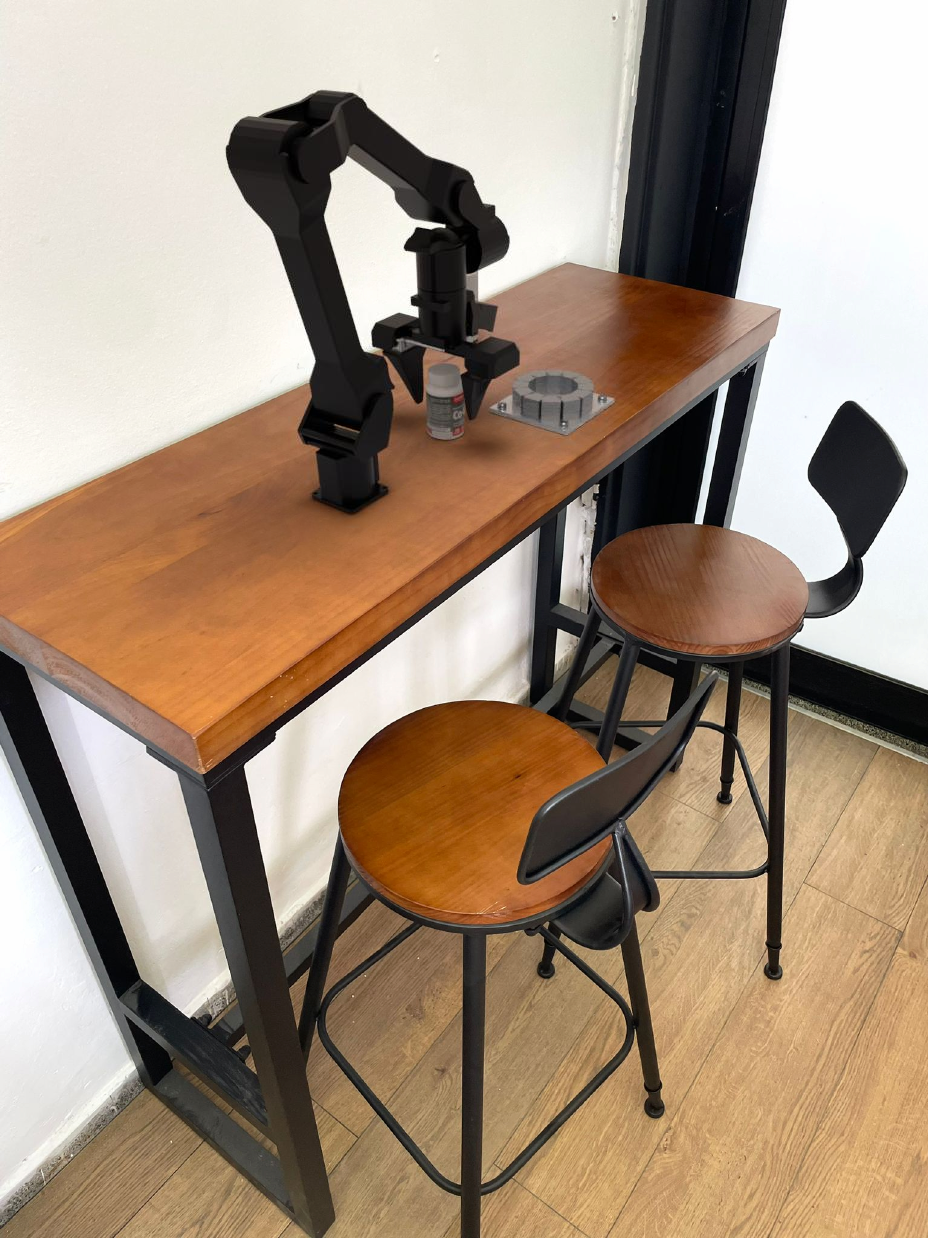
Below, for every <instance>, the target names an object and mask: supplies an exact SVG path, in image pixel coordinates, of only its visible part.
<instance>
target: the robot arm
mask: <svg viewBox="0 0 928 1238" xmlns="http://www.w3.org/2000/svg"><path fill="white" fill-rule="evenodd" d="M229 134H230V135H229V141H228V143H227V144H226V145H225V157H226V159H225V160H226V162H227V167H228V170H229V172H230V175H231V176H232V178H233V180H234V182H235V184H236V185H237V188H238V190H239V191H240V194H241V195H242V197H243V199H244V201H245V202H246V204H247V205H248V206H249V207H250V208H251V209H252V210H253V211H254V212H255V214H256V215H257V216H258V217H259V218H260V219H261V220H262V221H263V222H264V224H265V225H266V226H267V227H268V228H269V229H270V231H271V233H272V235H273V238H274V241H275V245H276V247H277V250H278V253H279V256H280V260H281V262H282V264H283V267H284V271H285V273H286V276H287V279H288V283H289V285H290V289H291V292H292V294H293V297H294V301H295V304H296V306H297V307H296V308H297V310H298V312H299V315H300V319H301V320H302V321H301V322H302V325H303V327H304V330H305V333H306V336H307V339H308V342H309V345H310V347H311V350H312V354H313V357H314V365H313V366H312V367H313V368H312V372H311V374H310V377H309V381H308V382H309V383H308V384H309V388H310V389H309V390H310V393H311V397H310V400H309V402H308V405H307V407H306V409H305V411H304V414H303V416H302V418H301V420H300V423H299V424H298V427H297V434H298V436H299V438H300V440H301V442H302V444H303V445H307V446H311V447H314V448H318V450H316V451H315V457H316V458H315V460H316V467H317V474H318V475H317V476H318V482H319V488H317V489H316V490H314V491H312V492H311V493H310V495H311V498H312V499H314V500H317V501H318V502H322V503H323V504H326V505H328V506H331V507H333V508H336V509H338V510H341V511H343V512H346V513H348V514H355V513H358V511H360V510H361V509H364V508H365V507H366V506H368V505H370V504H371V503H373V502H374V501H376V500H378V499H379V498H381V497H383V496H384V495H386V494H388V492H390V489H389V486H388V485H385V484H382V483H380V482H379V481H380V479H381V478H380V469H379V467H380V466H379V454H380V452H383V451H384V450H385V449H387V448H388V447H389V441H390V436H391V435H390V434H391V429H392V423H393V416H394V409H395V407H394V406H395V405H394V403H395V401H394V394H393V392H392V391H393V390H395V389H396V386H395V385H394V383H393V382H392V380H391V377H390V372H389V365H388V361H387V360H386V358H387V359H388V360H389V362H390V364H391V365H392V367H393V368H394V369H395V371H396V372H397V374H398V376H399V377H400V379H401V380H402V382H403V384H404V385H405V387H406V389H407V391H408V393H409V394H410V396H411V398H412V399H413V401H414V403H415V404H416V405H419V404H421V403H423V402H424V392H425V390H424V389H425V387H424V386H425V385H424V356H425V354H426V352H427V349H428V350H434V351H436V352H440V353H443V354H447V355H450V356H451V355H452V356H455V357H459V358H462V359H463V361H464V363H463V364H464V368H465V370H466V371H465V372H463V373H461V375H460V376H461V381H460V382H461V383H462V388H463V395H464V408H465V412H466V417H467V419H468V421H469V422H472V421H474V420H476V418H477V416H478V414H479V412H480V409H481V406H482V402H483V401H484V397H485V395H486V394H487V390H488V388H489V386H490V383H491V382H492V380H496V379H497V378H500V377H501V376H503V375H505V374H507V373H508V372H509V371H511V370H513V369H515V368H517V367H520V364H521V363H520V360H521V352H520V347H519V346H518V345H517V343H515V342H514V341H511V340H509V339H508V340H507V339H502V338H499V337H495V336H489V337H487V338H484V339H483V340H482V341H479V342H477V343H475V342H473V343H472V342H468V341H467V337H469V336H471V337H473V336H475V335H477V334H478V329H479V330H484V331H487V332H490V333H494V329H495V325H496V319H497V314H498V308H499V306H498V305H495V304H490V303H487V302H483V301H479V300H478V301H475V295H474V293H473V291H471V290H467V278H466V274H472V273H474V272H477V271H478V272H479V271H481V270H483V269H484V268H487V267H489V266H490V265H493V264H495V263H498V262H499V261H501V260H502V259H503V258H505V257H506V255H507V253H508V251H509V248H510V244H511V242H510V241H511V239H510V238H511V237H510V235H509V233H508V229H507V227H506V225H505V223H504V222H503V220H502V219H501V218H499V216H497V215H496V205H495V204H490V203H484V202H483V200H482V199H481V196H480V194H479V192H478V189H477V187H476V185H475V179H474V176H473V175H472V174H471V172H470V171H469V170H468V169H466V168H464V167H461V166H459V165H457V164H454V163H452V162H448V161H445V160H442V159H439V158H436V157H432V156H430V155H428V154H425V153H424V152H423V151H422V150H421V149H420V148H418V147H417V146H415V144H413V143H412V142H411V141H410V140H408V138H406V137H405V136H403V134H402V133H400V132H399V131H398V130H396V129H395V128H393V127H392V126H391V125H390V124H389V122H386V121H385V120H384V119H383V118H382V117H380V116H379V115H378V114H376V112H374V111H373V110H371V108H369V107H368V105H367V102H366V101H365V100H364V99H363V98H362V97H361V96H359V95H358V94H356V93H355V92H350V91H349V92H347V91H340V90H339V91H338V90H330V89H329V90H327V89H320V90H319V89H318V90H317V91H315V92H313V93H310V94H309V95H307V96H305V97H304V98H302V99H300V100H299V101H296V102H292V103H289V104H288V105H284V106H281V107H277V108H274V109H273V110H269V111H266V112H264V113H262V114H260V115H259V116H254V115H253V116H251V115H247V116H244V117H242V118H240V119H239V120H238V122H236V124H234V126H233V128H232V130H231V132H230V133H229ZM347 157H348V158H350V159H351V160H352V161H354V162H355V163H357V164H358V165H360V166H361V167H362V168H363V169H365V170H366V171H368V173H371V174H372V175H373V176H375V177H376V178H378V179H379V180H380V181H382V182H383V183H384V184H385V185H387V186H389V187H390V189H391V190H393V192H394V200H395V202H396V203H397V205H398V206H399V207H400V209H402V210H403V211H404V212H405V214H406V215H407V216H408V217H409V218H410V219H413V220H415V221H421V222H426V223H434V224H437V225H445V227H442V226H440V227H439V226H437V227H433V228H427V227H426V228H425V227H420V226H416V227H415V228H414V231H413V232H412V234H411V236H409V237H408V238H407V239H406V241H405V242H404V244H403V249H404V251H405V252H409V253H414V254H415V264H416V265H415V266H416V269H415V270H416V285H417V286H416V289H417V290H416V291H417V293H416V294H413V295H411V296H410V297H409V298H410V306H412V307H415V308H417V314H418V316H414V315H410V314H406V313H402V312H397V313H394V314H391V315H390V316H387V317H385V318H382V319H380V320H378V321H376V322H375V323H374V324H373V327H372V328H371V331H370V333H371V334H370V335H371V337H370V338H371V346H372V347H373V348H376V349H380V350H381V353H382V355H380V354H376V353H372V352H368V351H365V350H364V348H363V347H362V345H361V341H360V338H359V335H358V330H357V327H356V324H355V320H354V316H353V314H352V310H351V307H350V304H349V299H348V295H347V293H346V290H345V286H344V285H345V284H344V281H343V278H342V276H341V271H340V268H339V265H338V262H337V261H338V260H337V258H336V254H335V251H334V247H333V244H332V241H331V237H330V234H329V229H328V227H327V224H326V221H325V220H326V219H325V213H326V209H327V206H328V203H329V199H330V196H331V193H332V187H333V186H332V178H331V173H333V172H334V171H335V170H337V169H338V168H340V167H342V166H343V165H344V164H345V163H346V162H347V161H346V160H347ZM385 357H386V358H385Z"/></svg>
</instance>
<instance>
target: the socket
mask: <svg viewBox="0 0 928 1238" xmlns="http://www.w3.org/2000/svg"><path fill="white" fill-rule="evenodd" d="M512 384H513V385H512V394H510V395H509V396H506V397H505V398H503V399H502V400H500V401H498V402H496V403H495V404H493V405H491V406H490V407H489V411H488V412H489V413H491V414H493V415H494V414H495V415H497V416H501V417H505V418H507V419H511V420H515V421H517V422H520V423H523V424H527V425H530V426H533V427H537V428H541V429H544V430H546V431H550V432H553V433H557V434H560V435H563V436H568V435H570V434H571V433H573V432H574V431H576V430H577V429H578V428H579V427H581V426H582V425H584V424H586V423H588V422H589V421H590V420H591V419H593V418H595V417H596V416H597V415H599V414H600V413H601V412H603V411H605V410H606V409H607V408H609V407H611V406H612V405H614V404H615V398H613V397H610V396H607V395H605V394H598V393H594V387H595V385H594V382H593V381H592V380H591V379H589V378H588V377H587V376H586V375H583V374H582V373H578V372H574V371H571V370H564V369H549V368H548V369H540V370H539V369H538V370H535V371H528V372H526V373H522V374H521V375H520V376H518V377H516V378H514V380H513V383H512ZM604 409H605V410H604Z"/></svg>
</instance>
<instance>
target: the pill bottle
mask: <svg viewBox="0 0 928 1238" xmlns="http://www.w3.org/2000/svg"><path fill="white" fill-rule="evenodd" d="M461 372H462V371H461V368H460V366H458V365H457V364H453V363H447V362H446V363H437V364H433V365H430V366H429V367H428V369H427V380H428V383H427V384H426V385H425V403H426V423H427V424H426V425H427V434H428V435H429V436H430V437H431V438H434V439H437V440H442V441H443V440H444V441H445V440H446V441H447V440H448V441H450V440H454V439H458V438H460V437H461V436H462V435H464V433H465V430H466V429H465V427H466V426H465V401H464V395H463V388H462V382H461V376H460V375H461V374H462V373H461Z"/></svg>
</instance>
